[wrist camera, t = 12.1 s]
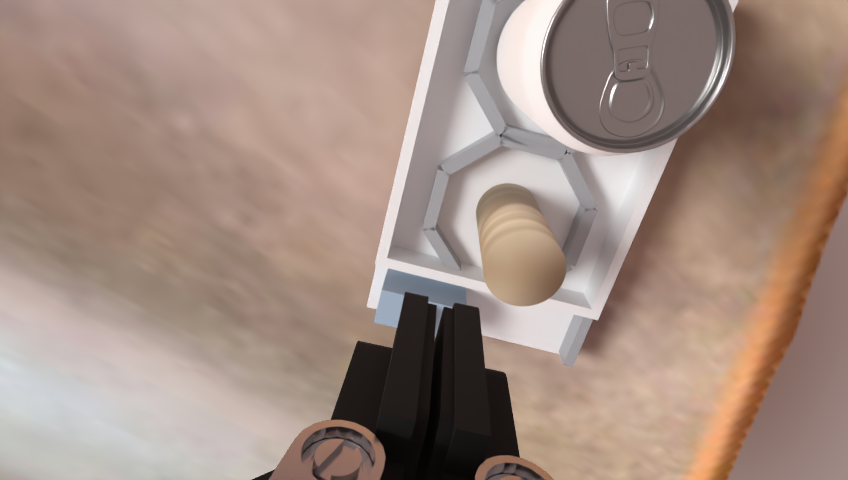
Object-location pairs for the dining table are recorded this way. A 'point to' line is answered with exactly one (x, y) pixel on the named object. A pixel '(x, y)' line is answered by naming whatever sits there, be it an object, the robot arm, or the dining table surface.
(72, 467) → the dining table surface
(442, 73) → the housing
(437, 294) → the latch
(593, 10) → the can
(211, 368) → the dining table surface
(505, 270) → the dowel
